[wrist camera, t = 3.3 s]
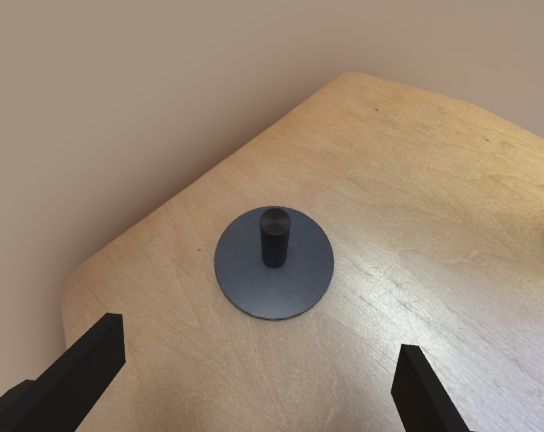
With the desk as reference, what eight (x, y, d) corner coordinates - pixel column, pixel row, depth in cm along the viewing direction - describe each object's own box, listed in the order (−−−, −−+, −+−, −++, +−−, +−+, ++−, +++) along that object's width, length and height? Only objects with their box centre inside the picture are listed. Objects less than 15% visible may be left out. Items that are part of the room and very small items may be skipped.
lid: (204, 314, 32) (181, 289, 23) (226, 206, 38) (214, 156, 30) (332, 327, 31) (355, 306, 22) (331, 215, 38) (349, 167, 29)
